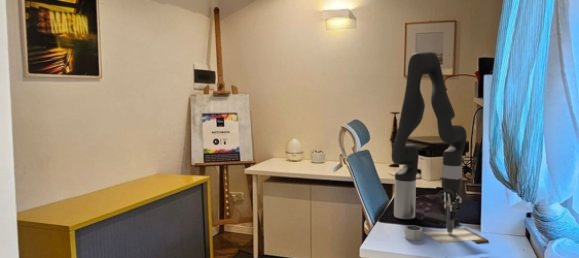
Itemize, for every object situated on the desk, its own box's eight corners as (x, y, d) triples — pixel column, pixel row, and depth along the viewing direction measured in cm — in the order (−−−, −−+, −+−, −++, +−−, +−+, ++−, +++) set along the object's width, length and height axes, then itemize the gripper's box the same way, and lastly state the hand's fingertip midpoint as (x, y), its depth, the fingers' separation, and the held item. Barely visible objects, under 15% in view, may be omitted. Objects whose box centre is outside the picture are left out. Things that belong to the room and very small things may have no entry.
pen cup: (402, 238, 181) (402, 226, 180) (416, 237, 182) (416, 224, 181) (409, 243, 175) (410, 231, 174) (424, 242, 176) (424, 229, 175)
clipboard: (416, 233, 186) (416, 231, 186) (465, 229, 191) (465, 227, 190) (436, 247, 171) (436, 244, 171) (488, 242, 176) (488, 239, 176)
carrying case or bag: (418, 222, 202) (449, 230, 191) (418, 215, 201) (449, 223, 190) (430, 217, 209) (461, 224, 198) (431, 210, 208) (461, 217, 198)
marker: (444, 231, 184) (445, 201, 183) (450, 230, 185) (451, 201, 183) (448, 233, 181) (449, 203, 180) (455, 232, 182) (456, 203, 181)
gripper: (433, 173, 186) (432, 214, 188) (453, 180, 173) (451, 225, 175) (450, 172, 188) (449, 213, 190) (471, 179, 174) (469, 223, 176)
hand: (450, 218), depth 182 cm, fingers closed on marker, 2 cm apart
